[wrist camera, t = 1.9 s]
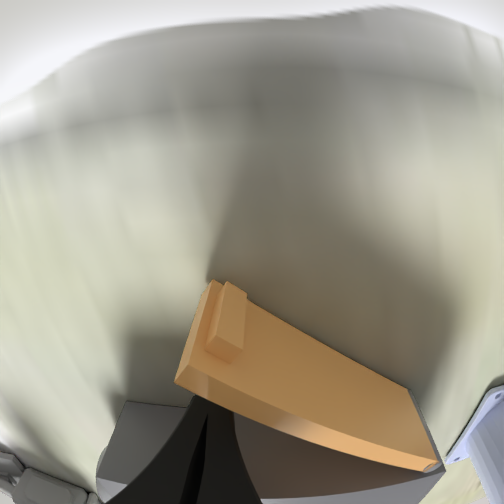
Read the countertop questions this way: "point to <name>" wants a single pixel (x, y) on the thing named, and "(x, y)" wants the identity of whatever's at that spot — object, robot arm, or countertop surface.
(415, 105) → the countertop surface
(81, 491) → the camera
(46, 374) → the countertop surface
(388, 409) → the case door
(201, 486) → the robot arm
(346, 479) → the camera case
